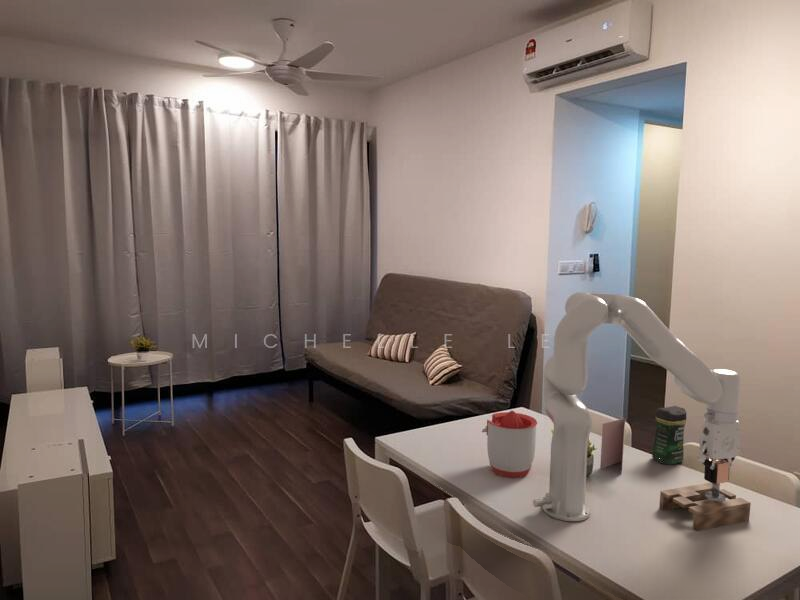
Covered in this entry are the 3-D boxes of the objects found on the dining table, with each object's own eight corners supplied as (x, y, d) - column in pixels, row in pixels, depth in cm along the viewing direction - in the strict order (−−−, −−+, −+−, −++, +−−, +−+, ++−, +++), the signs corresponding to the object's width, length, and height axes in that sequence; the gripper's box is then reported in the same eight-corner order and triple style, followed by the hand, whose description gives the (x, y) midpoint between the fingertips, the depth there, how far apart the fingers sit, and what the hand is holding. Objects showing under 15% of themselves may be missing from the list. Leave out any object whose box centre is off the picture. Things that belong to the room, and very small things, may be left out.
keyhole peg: (715, 506, 157) (718, 465, 156) (700, 498, 162) (703, 458, 161) (729, 503, 159) (732, 462, 158) (714, 495, 164) (717, 456, 162)
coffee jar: (668, 467, 191) (672, 412, 189) (648, 458, 198) (651, 405, 196) (687, 462, 196) (691, 408, 193) (667, 454, 203) (671, 402, 200)
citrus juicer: (488, 457, 198) (490, 400, 196) (539, 466, 191) (542, 407, 188) (474, 474, 184) (475, 413, 182) (529, 485, 177) (531, 421, 174)
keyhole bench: (696, 530, 151) (698, 512, 150) (659, 507, 163) (660, 490, 162) (749, 520, 157) (750, 502, 156) (709, 499, 169) (710, 482, 168)
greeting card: (620, 460, 197) (623, 417, 195) (639, 468, 190) (642, 423, 189) (598, 467, 191) (600, 423, 189) (617, 475, 184) (619, 429, 182)
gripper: (708, 423, 151) (703, 490, 154) (756, 416, 157) (751, 481, 159) (685, 414, 158) (681, 478, 161) (732, 408, 164) (728, 470, 166)
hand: (716, 479), depth 160 cm, fingers closed on keyhole peg, 4 cm apart
